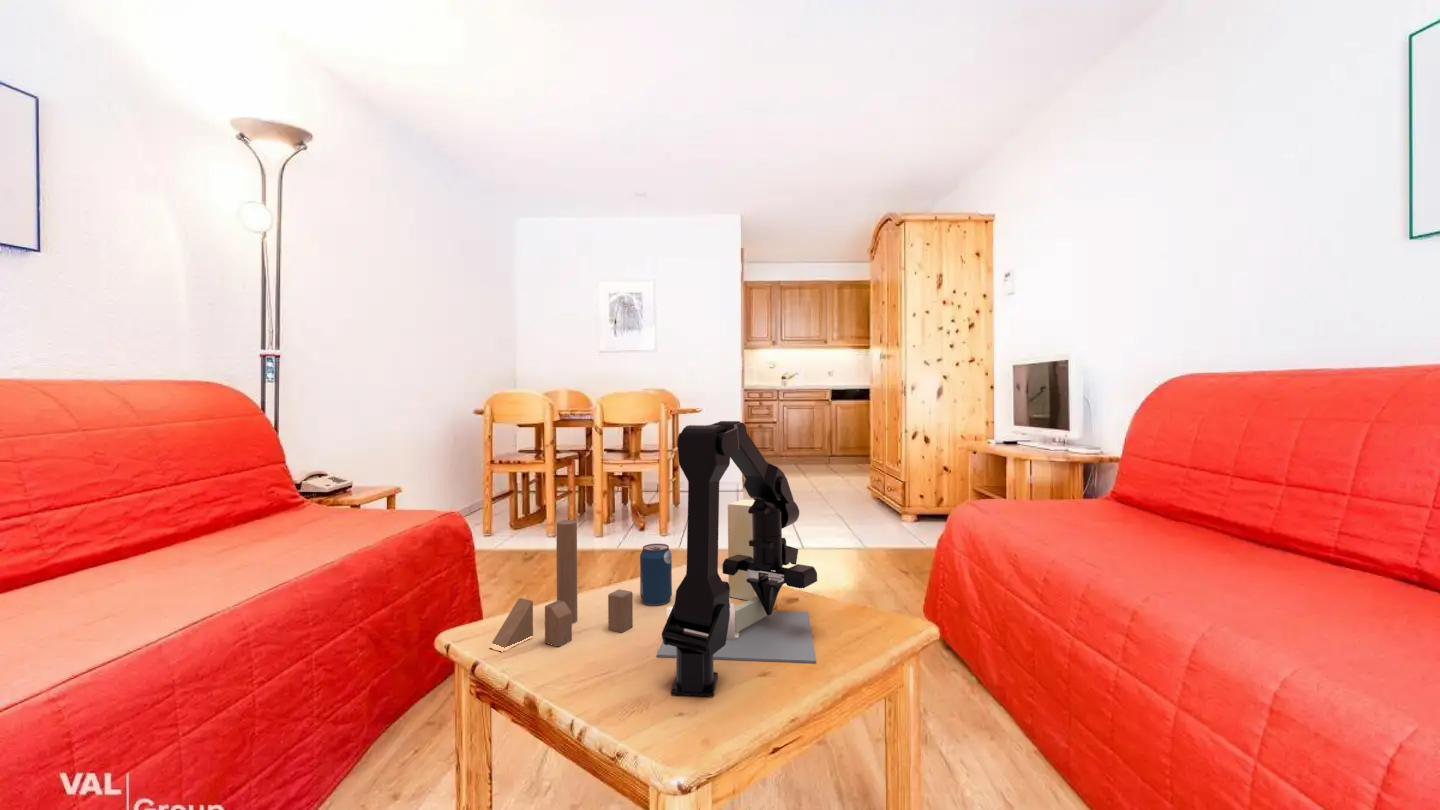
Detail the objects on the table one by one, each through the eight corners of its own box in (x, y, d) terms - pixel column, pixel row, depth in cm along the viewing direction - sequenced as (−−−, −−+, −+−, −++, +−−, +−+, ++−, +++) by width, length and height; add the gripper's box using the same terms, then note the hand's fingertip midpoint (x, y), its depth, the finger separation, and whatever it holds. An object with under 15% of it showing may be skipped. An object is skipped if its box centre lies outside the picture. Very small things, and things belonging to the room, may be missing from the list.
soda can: (678, 600, 121) (677, 546, 121) (654, 609, 116) (654, 552, 116) (657, 593, 126) (656, 541, 126) (633, 601, 121) (633, 547, 121)
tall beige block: (742, 586, 130) (741, 498, 130) (769, 591, 126) (769, 500, 127) (725, 596, 123) (724, 503, 124) (754, 602, 120) (753, 506, 120)
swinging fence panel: (771, 613, 110) (771, 591, 110) (737, 633, 101) (737, 608, 101) (765, 612, 111) (765, 589, 111) (730, 630, 102) (730, 606, 102)
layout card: (816, 663, 91) (815, 624, 91) (656, 657, 93) (656, 619, 94) (808, 613, 113) (807, 582, 113) (679, 609, 115) (678, 579, 115)
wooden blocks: (488, 649, 97) (488, 536, 97) (568, 612, 115) (567, 516, 115) (559, 670, 89) (558, 547, 89) (633, 627, 107) (632, 524, 107)
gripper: (829, 531, 108) (831, 612, 107) (751, 522, 119) (752, 595, 119) (801, 542, 99) (803, 630, 98) (719, 531, 110) (721, 610, 110)
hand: (769, 614), depth 107 cm, fingers closed
